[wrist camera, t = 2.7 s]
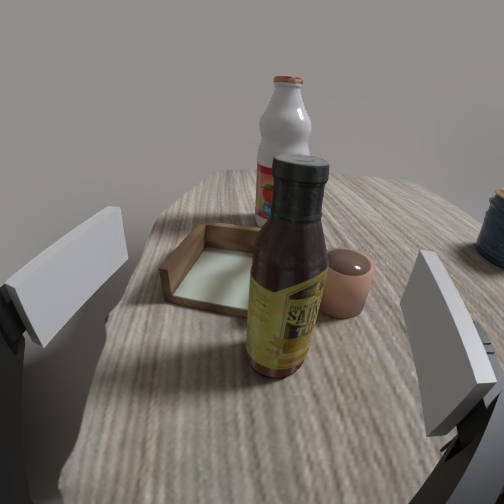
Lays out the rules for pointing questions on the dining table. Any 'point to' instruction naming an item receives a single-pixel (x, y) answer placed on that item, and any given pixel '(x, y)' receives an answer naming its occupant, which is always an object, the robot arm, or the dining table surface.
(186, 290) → the wooden tray
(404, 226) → the dining table surface
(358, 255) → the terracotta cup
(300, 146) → the fruit juice
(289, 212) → the sauce bottle
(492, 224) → the canister
